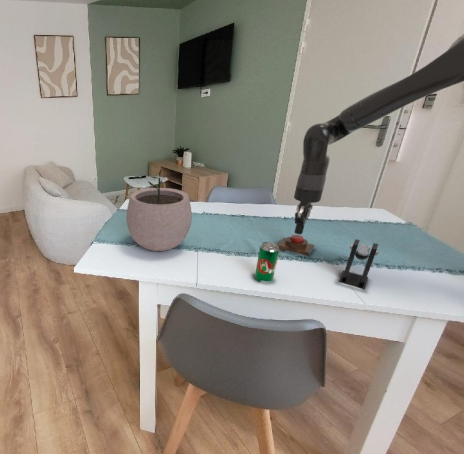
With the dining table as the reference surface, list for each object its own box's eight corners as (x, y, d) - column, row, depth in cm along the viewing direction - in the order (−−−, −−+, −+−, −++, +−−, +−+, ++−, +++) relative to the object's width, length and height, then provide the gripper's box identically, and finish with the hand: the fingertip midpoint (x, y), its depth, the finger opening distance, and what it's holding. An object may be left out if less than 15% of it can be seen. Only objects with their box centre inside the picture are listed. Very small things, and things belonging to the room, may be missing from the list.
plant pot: (125, 234, 125) (124, 164, 113) (182, 233, 124) (186, 162, 112) (127, 262, 103) (126, 179, 91) (196, 261, 102) (204, 177, 90)
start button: (303, 240, 105) (304, 236, 104) (301, 244, 102) (302, 239, 102) (292, 238, 107) (293, 233, 106) (289, 241, 105) (290, 237, 104)
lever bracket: (342, 273, 91) (354, 236, 86) (367, 280, 87) (381, 242, 82) (337, 284, 86) (350, 246, 81) (363, 292, 82) (378, 252, 77)
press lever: (353, 258, 93) (356, 249, 93) (366, 261, 91) (370, 252, 91) (354, 252, 82) (358, 242, 82) (369, 256, 80) (373, 245, 80)
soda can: (265, 274, 93) (272, 240, 88) (276, 282, 88) (284, 247, 83) (250, 276, 92) (256, 242, 87) (261, 285, 87) (268, 249, 83)
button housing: (313, 250, 105) (315, 240, 104) (307, 258, 100) (310, 248, 99) (282, 242, 112) (284, 233, 110) (275, 249, 107) (278, 240, 105)
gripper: (301, 180, 103) (291, 225, 110) (291, 188, 95) (280, 236, 102) (327, 183, 98) (315, 230, 105) (319, 192, 90) (306, 242, 97)
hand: (298, 233), depth 103 cm, fingers closed
